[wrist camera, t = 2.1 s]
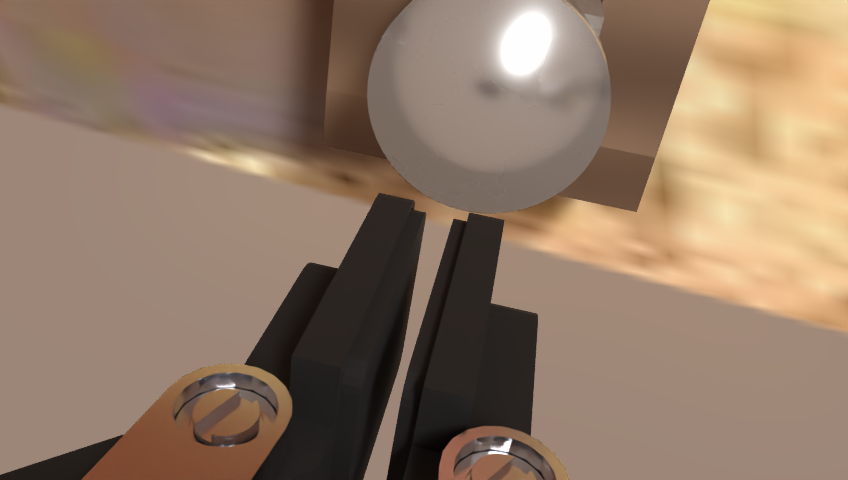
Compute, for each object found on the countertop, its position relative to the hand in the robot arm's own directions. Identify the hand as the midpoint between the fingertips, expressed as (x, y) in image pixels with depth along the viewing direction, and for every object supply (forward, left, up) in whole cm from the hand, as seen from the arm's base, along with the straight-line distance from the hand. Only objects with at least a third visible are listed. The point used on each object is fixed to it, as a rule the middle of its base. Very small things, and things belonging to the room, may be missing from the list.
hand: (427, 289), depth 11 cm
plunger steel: (0, 0, -16) cm, 16 cm away
